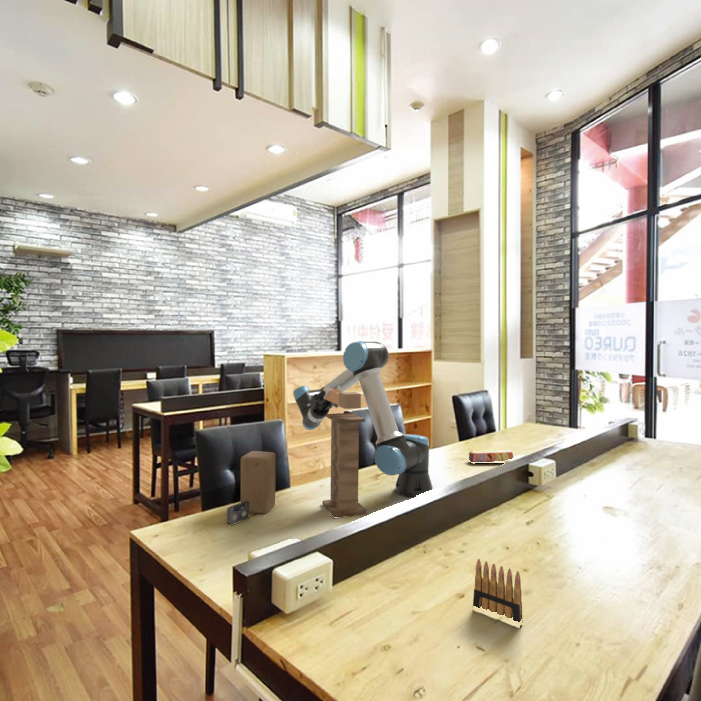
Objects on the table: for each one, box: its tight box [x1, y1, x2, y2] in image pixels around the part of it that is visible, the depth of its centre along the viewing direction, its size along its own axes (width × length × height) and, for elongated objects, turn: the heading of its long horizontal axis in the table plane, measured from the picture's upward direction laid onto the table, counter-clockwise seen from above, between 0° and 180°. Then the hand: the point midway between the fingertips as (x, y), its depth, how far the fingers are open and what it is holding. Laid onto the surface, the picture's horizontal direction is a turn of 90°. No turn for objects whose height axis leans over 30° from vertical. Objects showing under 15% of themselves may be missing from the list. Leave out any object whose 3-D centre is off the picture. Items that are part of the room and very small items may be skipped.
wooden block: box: [240, 450, 276, 515], centre depth 166 cm, size 10×10×20 cm
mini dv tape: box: [226, 501, 250, 526], centre depth 154 cm, size 8×2×6 cm, turn 145°
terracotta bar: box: [323, 388, 362, 410], centre depth 172 cm, size 28×6×5 cm, turn 21°
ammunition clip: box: [472, 558, 523, 622], centre depth 102 cm, size 11×2×12 cm, turn 52°
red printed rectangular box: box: [468, 449, 514, 462], centre depth 232 cm, size 21×7×7 cm, turn 93°
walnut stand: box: [321, 412, 368, 518], centre depth 166 cm, size 14×12×34 cm
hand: (334, 389), depth 177 cm, fingers closed on terracotta bar, 4 cm apart
